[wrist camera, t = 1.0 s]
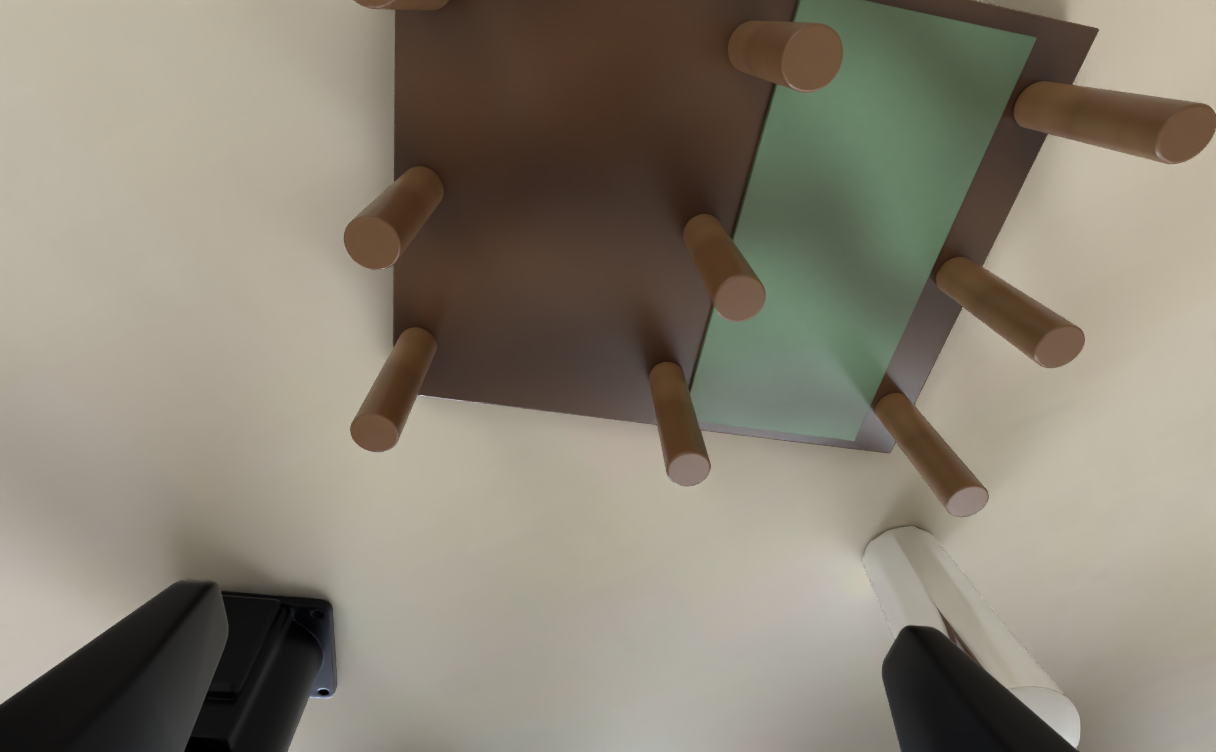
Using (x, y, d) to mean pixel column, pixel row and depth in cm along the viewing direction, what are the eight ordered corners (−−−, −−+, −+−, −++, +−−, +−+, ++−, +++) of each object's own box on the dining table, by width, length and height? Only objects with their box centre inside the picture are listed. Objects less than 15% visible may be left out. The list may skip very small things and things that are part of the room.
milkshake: (827, 525, 26) (948, 774, 18) (955, 505, 26) (1141, 748, 18) (827, 597, 29) (934, 849, 20) (945, 579, 28) (1105, 826, 20)
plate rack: (876, 435, 24) (962, 555, 19) (401, 374, 22) (344, 491, 17) (1069, 27, 17) (1288, 34, 12) (407, -119, 15) (315, -191, 10)
